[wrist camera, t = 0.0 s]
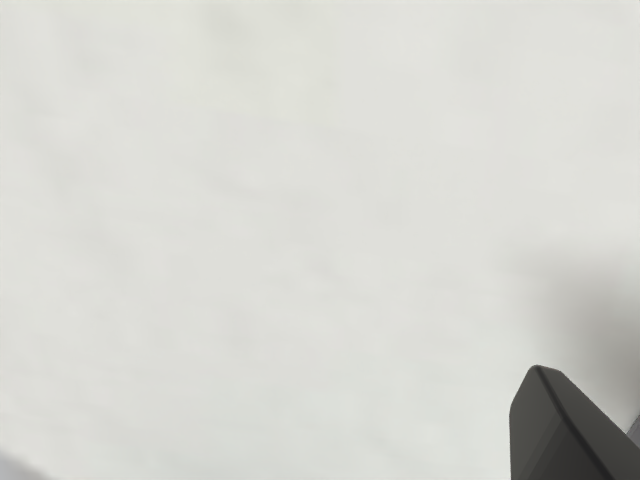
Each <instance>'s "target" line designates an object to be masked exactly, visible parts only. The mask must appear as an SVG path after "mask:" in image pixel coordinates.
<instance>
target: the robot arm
mask: <svg viewBox="0 0 640 480" xmlns="http://www.w3.org/2000/svg"><path fill="white" fill-rule="evenodd" d="M509 427H510V463H511V480H640V448H639V447H638V446H637V445H636V444H635V443H634V442H633V441H632V440H631V439H630V438H629V437H628V436H627V435H626V434H625V433H624V432H623V431H622V430H621V429H620V428H619V427H618V426H617V425H616V424H615V423H614V422H612V421H611V420H610V419H609V418H608V417H607V416H606V415H605V414H604V413H603V412H602V411H601V410H600V409H599V408H598V407H597V406H596V405H595V404H594V403H593V402H592V401H591V400H590V399H589V398H588V397H587V396H586V395H585V394H584V393H583V392H582V391H581V390H580V389H579V388H578V387H577V386H576V385H574V384H573V383H572V382H571V381H570V380H569V379H568V378H567V377H566V376H565V375H564V374H563V373H562V372H561V371H559V370H557V369H553V368H549V367H545V366H541V365H534V366H532V367H531V368H530V369H529V370H528V372H527V374H526V376H525V378H524V380H523V382H522V384H521V386H520V388H519V390H518V392H517V393H516V395H515V397H514V399H513V402H512V404H511V408H510V414H509Z"/></svg>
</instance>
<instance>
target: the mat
mask: <svg viewBox="0 0 640 480" xmlns="http://www.w3.org/2000/svg"><path fill="white" fill-rule="evenodd" d="M627 436H628V437H629V438H630V439H631V440H632V441H633V442H634V443H635V444H636V445H637V446H638V447H639V448H640V415H639V416H638V418H637V420H636V421H635V423H634V424H633V426H632V427H631V429H630V430H629V432H628V433H627Z"/></svg>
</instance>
